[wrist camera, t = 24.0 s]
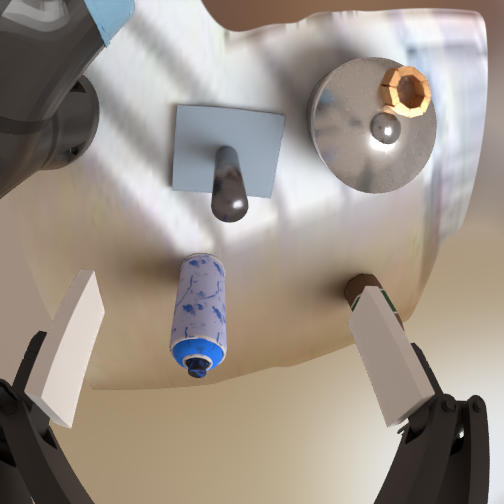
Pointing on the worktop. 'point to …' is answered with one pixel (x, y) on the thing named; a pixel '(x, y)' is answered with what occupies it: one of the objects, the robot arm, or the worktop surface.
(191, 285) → the aerosol can
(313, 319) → the worktop surface
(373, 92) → the disc
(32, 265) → the worktop surface
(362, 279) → the beer bottle
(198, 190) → the plate
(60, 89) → the robot arm
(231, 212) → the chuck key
